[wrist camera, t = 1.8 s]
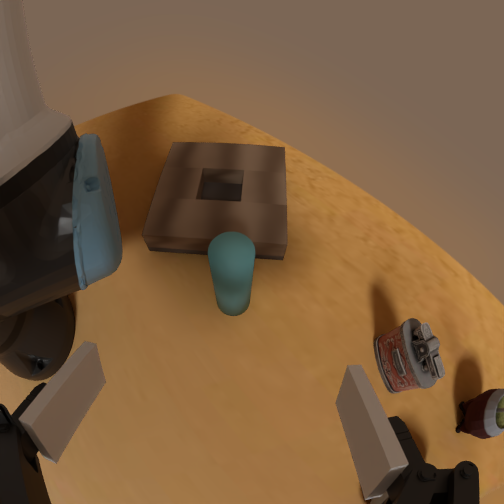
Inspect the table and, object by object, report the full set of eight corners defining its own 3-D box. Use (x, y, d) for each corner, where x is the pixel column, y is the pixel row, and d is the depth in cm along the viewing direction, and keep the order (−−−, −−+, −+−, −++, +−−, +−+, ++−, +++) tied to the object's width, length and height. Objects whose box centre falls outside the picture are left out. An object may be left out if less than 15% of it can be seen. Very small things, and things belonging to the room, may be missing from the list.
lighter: (368, 340, 32) (409, 316, 24) (389, 332, 33) (432, 306, 24) (387, 397, 29) (434, 391, 20) (407, 387, 29) (456, 376, 21)
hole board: (149, 250, 37) (141, 234, 34) (176, 160, 46) (173, 142, 43) (282, 260, 38) (287, 244, 34) (281, 165, 46) (284, 147, 43)
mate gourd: (486, 414, 26) (559, 398, 13) (459, 452, 23) (536, 450, 10) (469, 382, 29) (545, 358, 16) (440, 421, 26) (522, 411, 13)
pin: (215, 314, 33) (204, 271, 23) (218, 284, 35) (210, 230, 25) (248, 316, 34) (254, 274, 23) (250, 286, 36) (256, 233, 25)
